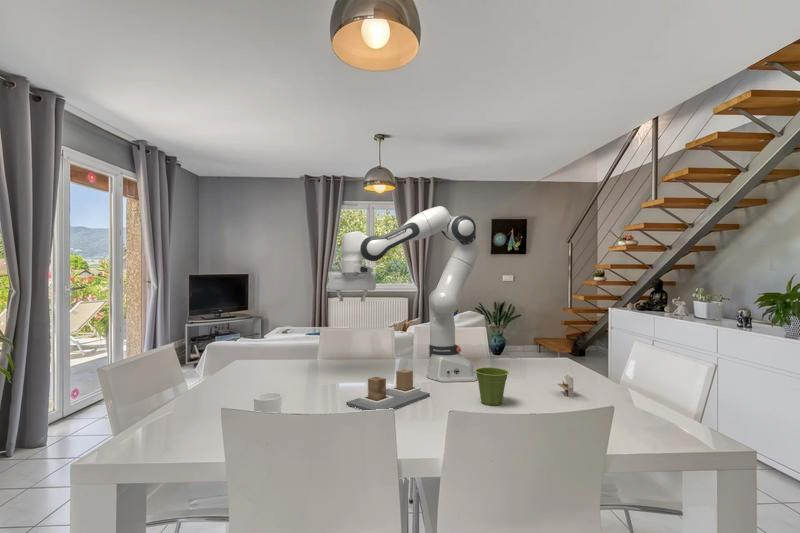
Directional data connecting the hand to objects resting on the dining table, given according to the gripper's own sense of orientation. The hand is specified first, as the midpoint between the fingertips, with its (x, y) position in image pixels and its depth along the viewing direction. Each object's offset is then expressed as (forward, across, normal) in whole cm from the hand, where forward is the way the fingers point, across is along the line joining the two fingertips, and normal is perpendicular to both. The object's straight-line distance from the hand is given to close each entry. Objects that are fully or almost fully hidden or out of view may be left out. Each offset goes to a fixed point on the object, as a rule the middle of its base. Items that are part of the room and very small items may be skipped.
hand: (352, 301), depth 178 cm
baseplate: (+34, +19, -24) cm, 46 cm away
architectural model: (+35, +85, -11) cm, 92 cm away
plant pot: (+34, +56, -23) cm, 69 cm away
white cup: (+34, -12, -56) cm, 67 cm away
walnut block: (+33, +16, -30) cm, 47 cm away
